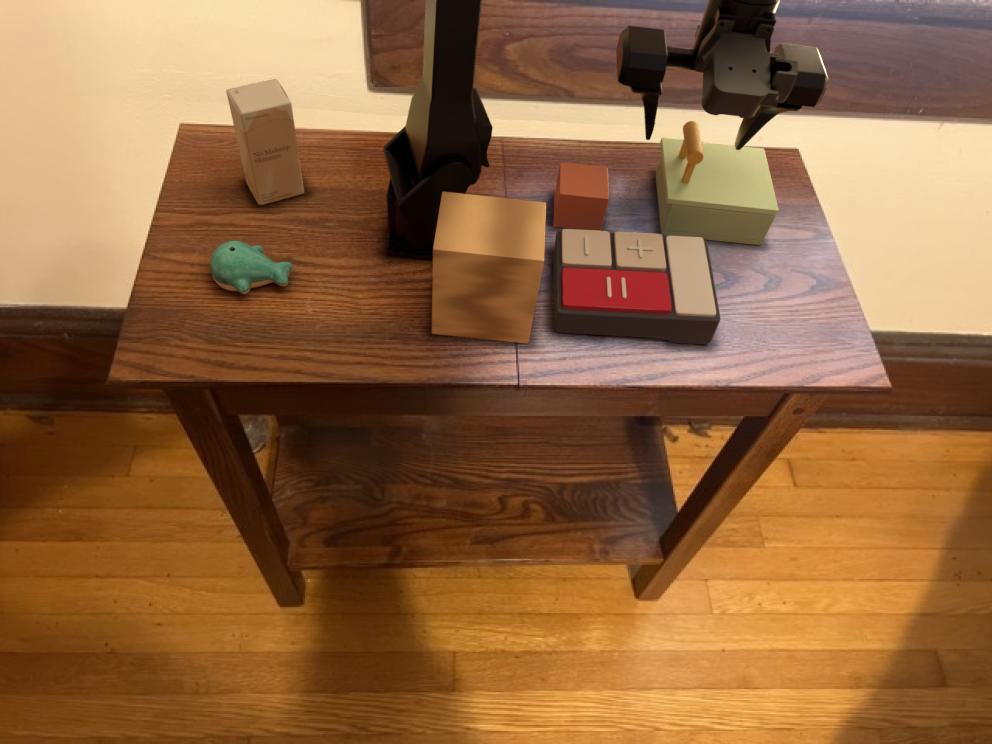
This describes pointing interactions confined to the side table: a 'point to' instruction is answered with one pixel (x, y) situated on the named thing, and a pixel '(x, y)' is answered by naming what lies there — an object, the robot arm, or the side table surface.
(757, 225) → the chest
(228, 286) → the whale figurine
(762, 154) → the lid
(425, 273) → the side table surface
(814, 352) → the side table surface
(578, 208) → the block
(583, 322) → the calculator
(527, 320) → the stand
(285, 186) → the box
